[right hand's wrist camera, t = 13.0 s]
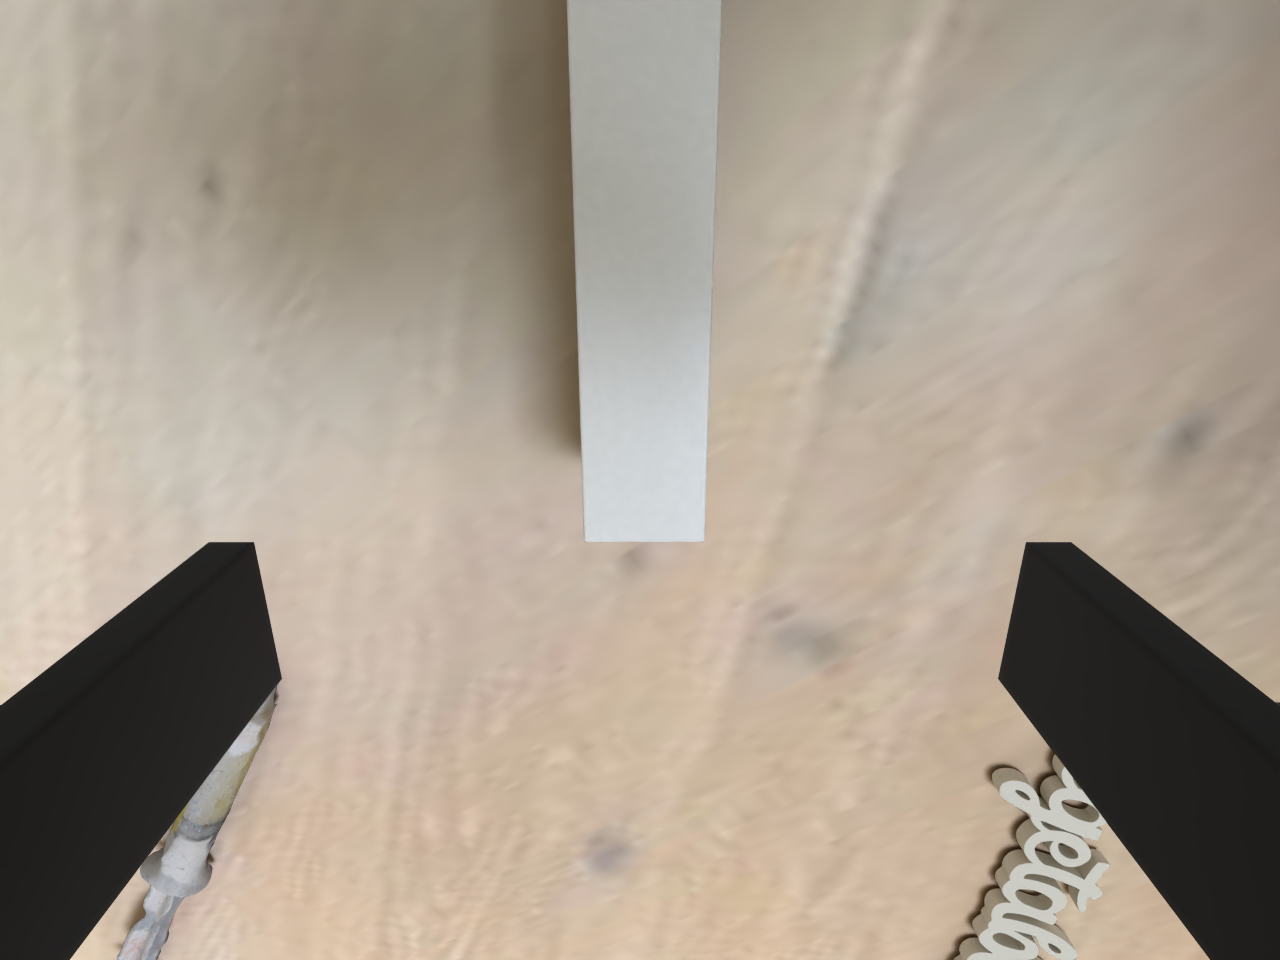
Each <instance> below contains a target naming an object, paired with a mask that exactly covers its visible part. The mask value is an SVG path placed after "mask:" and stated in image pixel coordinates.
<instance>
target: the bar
mask: <svg viewBox="0 0 1280 960" xmlns="http://www.w3.org/2000/svg"><path fill="white" fill-rule="evenodd" d="M721 6H722V0H567V24H568V55H569V86H570V118H571V149H572V180H573V212H574V243H575V274H576V306H577V337H578V368H579V399H580V431H581V462H582V493H583V525H584V541H585V542H703V541H704V540H705V511H706V480H707V448H708V417H709V385H710V354H711V322H712V290H713V259H714V227H715V196H716V164H717V132H718V101H719V69H720V38H721Z"/></svg>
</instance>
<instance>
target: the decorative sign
mask: <svg viewBox="0 0 1280 960" xmlns="http://www.w3.org/2000/svg"><path fill="white" fill-rule="evenodd" d="M1052 764H1053V768H1054V770H1055V772H1056V773H1057V775H1055V776H1051V777H1048V778H1046V779H1045V780H1044V781H1043V782H1042V784H1041V787H1040V793H1041V796H1042V797H1043V798H1041V797H1038V795H1037V793H1036V792H1035V790H1034V789H1033V787H1032V786H1031V784H1030V783H1029V781H1028V780H1027V778H1026V777H1025V776H1024V775H1023V774H1022V773H1021V772H1019V771H1017V770H1015V769H1012V768H1001V769H998V770H995V771H994V772H993V774H992V781H993V783H994V785H995V786H996V788H997V790H998V791H999V793H1000V794H1001V796H1002V797H1003V798H1004V799H1005V800H1006V801H1007V802H1009V803H1011V804H1012V805H1014V806H1016V807H1018V808H1019V809H1021V810H1023V811H1025V812H1026V813H1027V815H1028V816H1029V818H1030V819H1028V820H1026V821H1025V822H1023V823H1022V824H1021V825H1020V826H1019V828H1018V829H1017V832H1016V839H1017V841H1018V843H1019V845H1020V846H1021V848H1022V849H1019V850H1014V851H1011V852H1009V853H1008V854H1007V855H1006V856H1005V857H1004V858H1003V861H1002V866H1001V867H1000V868H999V869H998V870H997V871H996V873H995V879H996V881H997V883H998V885H999V887H1000V888H997V889H992V890H990V891H988V892H987V894H986V896H985V899H984V905H985V906H984V907H983V908H982V909H981V914H980V915H978V916H977V917H976V918H975V919H974V920H973V922H972V925H973V928H974V930H975V932H976V934H977V936H978V938H968V939H966V940H964V941H963V942H962V943H961V945H960V947H959V952H960V955H958V956H957V957H956V958H954V960H1041V959H1040V958H1038V957H1037V956H1038V953H1039V950H1038V947H1037V945H1036V943H1035V941H1034V940H1033V938H1032V936H1031V935H1033V936H1035V937H1036V939H1037V941H1038V942H1039V944H1040V945H1041V947H1042V948H1043V949H1044V950H1045V951H1047V952H1048V953H1049V954H1051V955H1052V956H1054V957H1056V958H1058V959H1060V960H1074V959H1075V958H1076V957H1077V952H1076V950H1075V949H1074V947H1073V945H1072V943H1071V942H1070V940H1069V938H1068V937H1067V935H1066V934H1065V933H1064V932H1063V931H1062V930H1061V929H1059V928H1058V927H1057V926H1055V925H1054V923H1055V922H1056V921H1057V917H1056V916H1055V914H1054V913H1057V912H1059V911H1060V910H1062V909H1063V908H1064V907H1065V906H1066V903H1067V899H1066V896H1065V895H1064V893H1063V891H1062V890H1061V888H1060V887H1059V885H1058V883H1057V882H1056V880H1058V881H1061V882H1063V883H1066V884H1069V885H1068V888H1069V894H1070V897H1071V898H1072V900H1073V901H1074V903H1075V905H1076V906H1077V908H1078V909H1079V911H1081V912H1082V911H1085V910H1086V901H1087V898H1088V896H1089V897H1090V898H1091V899H1092V900H1095V899H1097V898H1099V897H1100V896H1101V895H1102V892H1101V890H1100V889H1099V887H1098V886H1097V884H1096V882H1097V881H1098V879H1099V878H1100V877H1101V876H1102V874H1103V873H1104V872H1105V871H1106V870H1107V869H1108V868H1109V867H1110V864H1109V863H1108V861H1107V860H1106V859H1105V857H1104V856H1103V854H1102V853H1101V852H1100V851H1098V850H1096V849H1090V848H1089V847H1088V845H1087V844H1086V842H1085V841H1084V840H1083V838H1082V837H1081V836H1083V837H1086V838H1089V839H1093V840H1096V841H1097V840H1098V838H1099V836H1100V835H1101V833H1102V832H1103V831H1102V829H1101V828H1100V827H1099V826H1102V825H1104V824H1106V823H1107V822H1106V821H1105V820H1104V818H1103V817H1102V816H1101V814H1100V813H1099V812H1098V810H1097V809H1096V808H1095V806H1094V805H1093V804H1092V802H1091V801H1090V800H1089V798H1088V797H1087V796H1086V794H1085V793H1084V792H1083V790H1082V789H1081V788H1080V786H1079V785H1078V784H1077V782H1076V781H1075V780H1074V778H1073V777H1072V776H1071V774H1070V773H1069V772H1068V771H1067V769H1066V768H1065V767H1064V765H1063V764H1062V763H1061V761H1060V760H1059V759H1058V757H1057V756H1056V755H1054V757H1053V761H1052ZM1067 799H1071V800H1078V801H1081V802H1084V803H1087V804H1089V805H1088V806H1087V807H1086V808H1084V809H1077V808H1073V807H1070V806H1068V805H1066V804H1064V803H1062V801H1063V800H1067ZM1041 842H1044V844H1045V845H1046V847H1047V848H1048V850H1049V852H1050V853H1051V855H1049V854H1046V853H1042V852H1038V851H1036V850H1035V847H1036V845H1037V844H1039V843H1041ZM1059 843H1063V844H1065V845H1060V844H1059ZM1055 879H1056V880H1055ZM1019 889H1029V890H1034V891H1037V892H1040V893H1042V894H1040V895H1038V896H1032V895H1028V894H1026V893H1023V892H1021V891H1018V890H1019Z"/></svg>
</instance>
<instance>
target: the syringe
mask: <svg viewBox="0 0 1280 960" xmlns="http://www.w3.org/2000/svg"><path fill="white" fill-rule="evenodd" d="M276 689H277V686H276V687H275V688H274V690H273V691H272V692H271V694H270V695H269V696H268V698H267V699H266V700H265V702H264V703H263V704H262V706H261V707H260V708H259V710H258V711H257V712H256V714H255V715H254V716H253V718H252V719H251V720H250V721H249V723H248V724H247V725H246V727H245V728H244V729H243V731H242V732H241V733H240V735H239V736H238V737H237V739H236V740H235V741H234V743H233V744H232V745H231V747H230V748H229V749H228V751H227V752H226V753H225V755H224V756H223V757H222V759H221V760H220V761H219V763H218V764H217V765H216V767H215V768H214V769H213V771H212V772H211V773H210V774H209V776H208V777H207V778H206V780H205V781H204V782H203V784H202V785H201V786H200V788H199V789H198V790H197V792H196V793H195V794H194V796H193V797H192V798H191V800H190V801H189V802H188V804H187V805H186V806H185V808H184V809H183V810H182V812H181V813H180V814H179V816H178V817H177V818H176V820H175V821H174V824H173V828H172V830H171V831H170V833H169V834H168V836H167V840H166V844H165V847H164V848H162V849H161V850H159V851H156V852H154V853H152V854H151V855H150V856H148V857H147V858H146V859H145V861H144V862H143V864H142V866H141V868H140V873H141V876H142V878H143V879H144V880H146V881H147V882H148V883H149V884H150V885H151V887H150V889H149V891H148V893H147V895H146V897H145V899H144V902H143V908H144V909H145V911H146V915H145V917H143V918H142V919H141V920H140V921H138V922H136V923H135V924H134V925H133V927H132V928H131V930H130V931H129V933H128V935H127V937H126V940H125V942H124V943H123V945H122V948H121V951H120V953H119V954H118V956H117V960H157V958H158V956H159V954H160V952H161V947H162V945H163V944H164V943H165V942H166V941H167V939H168V935H169V931H168V929H169V926H170V924H171V921H172V918H173V915H174V914H175V912H176V910H177V908H178V906H179V904H180V903H181V901H182V900H183V899H184V897H188V896H191V895H194V894H196V893H198V892H200V891H201V890H203V889H204V888H205V887H206V886H207V884H208V883H209V881H210V878H211V874H212V866H211V865H210V864H209V863H208V861H207V858H208V853H209V851H210V849H211V847H212V846H213V844H214V842H215V839H216V836H217V834H218V832H219V830H220V828H221V826H222V825H223V823H224V821H225V819H226V817H227V815H228V814H229V812H230V809H231V806H232V804H233V801H234V799H235V797H236V795H237V793H238V790H239V788H240V786H241V784H242V782H243V779H244V777H245V775H246V773H247V771H248V769H249V767H250V764H251V763H252V761H253V758H254V756H255V753H256V752H257V750H258V748H259V746H260V744H261V742H262V741H263V739H264V736H265V733H266V732H267V730H268V727H269V725H270V721H271V717H272V714H273V711H274V708H275V707H276V705H277V704H276V705H275V704H274V695H275V692H276Z"/></svg>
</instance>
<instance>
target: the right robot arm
mask: <svg viewBox="0 0 1280 960" xmlns="http://www.w3.org/2000/svg"><path fill="white" fill-rule="evenodd" d="M281 679H282V677H281V672H280V668H279V663H278V658H277V653H276V648H275V643H274V638H273V633H272V628H271V623H270V618H269V614H268V609H267V604H266V599H265V594H264V589H263V584H262V579H261V574H260V569H259V565H258V560H257V555H256V550H255V545H254V542H209V543H207V544H206V545H205V546H204V547H202V548H201V549H200V550H198V551H197V552H196V553H195V554H193V555H192V556H191V557H190V558H188V559H187V560H186V561H184V562H183V563H182V564H181V565H179V566H178V567H177V568H176V569H174V570H173V571H172V572H170V573H169V574H168V575H167V576H165V577H164V578H163V579H162V580H160V581H159V582H158V583H156V584H155V585H154V586H153V587H151V588H150V589H149V590H148V591H146V592H145V593H144V594H142V595H141V596H140V597H139V598H137V599H136V600H135V601H133V602H132V603H131V604H130V605H128V606H127V607H126V608H125V609H123V610H122V611H121V612H119V613H118V614H117V615H116V616H114V617H113V618H112V619H111V620H109V621H108V622H107V623H105V624H104V625H103V626H102V627H100V628H99V629H98V630H97V631H95V632H94V633H93V634H91V635H90V636H89V637H88V638H86V639H85V640H84V641H82V642H81V643H80V644H79V645H77V646H76V647H75V648H74V649H72V650H71V651H70V652H68V653H67V654H66V655H65V656H63V657H62V658H61V659H60V660H58V661H57V662H56V663H54V664H53V665H52V666H51V667H49V668H48V669H47V670H46V671H44V672H43V673H42V674H40V675H39V676H38V677H37V678H35V679H34V680H33V681H31V682H30V683H29V684H28V685H26V686H25V687H24V688H23V689H21V690H20V691H19V692H17V693H16V694H15V695H14V696H12V697H11V698H10V699H9V700H7V701H6V702H5V703H3V704H2V705H0V960H70V959H71V957H72V956H73V955H74V953H75V952H76V951H77V949H78V948H79V947H80V945H81V944H82V943H83V941H84V940H85V939H86V937H87V936H88V935H89V933H90V932H91V931H92V929H93V928H94V927H95V926H96V924H97V923H98V922H99V920H100V919H101V918H102V916H103V915H104V914H105V912H106V911H107V910H108V908H109V907H110V906H111V904H112V903H113V902H114V900H115V899H116V898H117V896H118V895H119V894H120V892H121V891H122V890H123V888H124V887H125V886H126V884H127V883H128V882H129V880H130V879H131V878H132V876H133V875H134V874H135V873H136V871H137V870H138V869H139V867H140V866H141V865H142V863H143V862H144V861H145V859H146V858H147V857H148V855H149V854H150V853H151V851H152V850H153V849H154V847H155V846H156V845H157V843H158V842H159V841H160V839H161V838H162V837H163V835H164V834H165V833H166V831H167V830H168V829H169V827H170V826H171V825H172V823H173V822H174V821H175V820H176V818H177V817H178V816H179V814H180V813H181V812H182V810H183V809H184V808H185V806H186V805H187V804H188V802H189V801H190V800H191V798H192V797H193V796H194V794H195V793H196V792H197V790H198V789H199V788H200V786H201V785H202V784H203V782H204V781H205V780H206V778H207V777H208V776H209V774H210V773H211V772H212V771H213V769H214V768H215V767H216V765H217V764H218V763H219V761H220V760H221V759H222V757H223V756H224V755H225V753H226V752H227V751H228V749H229V748H230V747H231V745H232V744H233V743H234V741H235V740H236V739H237V737H238V736H239V735H240V733H241V732H242V731H243V729H244V728H245V727H246V725H247V724H248V723H249V721H250V720H251V719H252V718H253V716H254V715H255V714H256V712H257V711H258V710H259V708H260V707H261V706H262V704H263V703H264V702H265V700H266V699H267V698H268V696H269V695H270V694H271V692H272V691H273V690H274V688H275V687H276V686H277V684H278V683H279V682H280V680H281ZM998 679H999V680H1000V682H1001V683H1002V684H1003V686H1004V687H1005V688H1006V690H1007V691H1008V692H1009V694H1010V695H1011V696H1012V698H1013V699H1014V700H1015V702H1016V703H1017V704H1018V706H1019V707H1020V708H1021V710H1022V711H1023V712H1024V714H1025V715H1026V716H1027V718H1028V719H1029V720H1030V721H1031V723H1032V724H1033V725H1034V727H1035V728H1036V729H1037V731H1038V732H1039V733H1040V735H1041V736H1042V737H1043V739H1044V740H1045V741H1046V743H1047V744H1048V745H1049V747H1050V748H1051V749H1052V751H1053V752H1054V753H1055V755H1056V756H1057V757H1058V759H1059V760H1060V761H1061V763H1062V764H1063V765H1064V767H1065V768H1066V769H1067V771H1068V772H1069V773H1070V774H1071V776H1072V777H1073V778H1074V780H1075V781H1076V782H1077V784H1078V785H1079V786H1080V788H1081V789H1082V790H1083V792H1084V793H1085V794H1086V796H1087V797H1088V798H1089V800H1090V801H1091V802H1092V804H1093V805H1094V806H1095V808H1096V809H1097V810H1098V812H1099V813H1100V814H1101V816H1102V817H1103V818H1104V820H1105V821H1106V822H1107V824H1108V825H1109V826H1110V827H1111V829H1112V830H1113V831H1114V833H1115V834H1116V835H1117V837H1118V838H1119V839H1120V841H1121V842H1122V843H1123V845H1124V846H1125V847H1126V849H1127V850H1128V851H1129V853H1130V854H1131V855H1132V857H1133V858H1134V859H1135V861H1136V862H1137V863H1138V865H1139V866H1140V867H1141V869H1142V870H1143V871H1144V873H1145V874H1146V875H1147V876H1148V878H1149V879H1150V880H1151V882H1152V883H1153V884H1154V886H1155V887H1156V888H1157V890H1158V891H1159V892H1160V894H1161V895H1162V896H1163V898H1164V899H1165V900H1166V902H1167V903H1168V904H1169V906H1170V907H1171V908H1172V910H1173V911H1174V912H1175V914H1176V915H1177V916H1178V918H1179V919H1180V920H1181V922H1182V923H1183V924H1184V926H1185V927H1186V928H1187V929H1188V931H1189V932H1190V933H1191V935H1192V936H1193V937H1194V939H1195V940H1196V941H1197V943H1198V944H1199V945H1200V947H1201V948H1202V949H1203V951H1204V952H1205V953H1206V955H1207V956H1208V957H1209V959H1210V960H1280V703H1275V702H1274V701H1273V700H1271V699H1270V698H1269V697H1268V696H1266V695H1265V694H1264V693H1263V692H1261V691H1260V690H1259V689H1257V688H1256V687H1255V686H1254V685H1252V684H1251V683H1250V682H1249V681H1247V680H1246V679H1245V678H1243V677H1242V676H1241V675H1240V674H1238V673H1237V672H1236V671H1234V670H1233V669H1232V668H1231V667H1229V666H1228V665H1227V664H1226V663H1224V662H1223V661H1222V660H1220V659H1219V658H1218V657H1217V656H1215V655H1214V654H1213V653H1212V652H1210V651H1209V650H1208V649H1206V648H1205V647H1204V646H1203V645H1201V644H1200V643H1199V642H1198V641H1196V640H1195V639H1194V638H1192V637H1191V636H1190V635H1189V634H1187V633H1186V632H1185V631H1183V630H1182V629H1181V628H1180V627H1178V626H1177V625H1176V624H1175V623H1173V622H1172V621H1171V620H1169V619H1168V618H1167V617H1166V616H1164V615H1163V614H1162V613H1161V612H1159V611H1158V610H1157V609H1155V608H1154V607H1153V606H1152V605H1150V604H1149V603H1148V602H1147V601H1145V600H1144V599H1143V598H1141V597H1140V596H1139V595H1138V594H1136V593H1135V592H1134V591H1132V590H1131V589H1130V588H1129V587H1127V586H1126V585H1125V584H1124V583H1122V582H1121V581H1120V580H1118V579H1117V578H1116V577H1115V576H1113V575H1112V574H1111V573H1110V572H1108V571H1107V570H1106V569H1104V568H1103V567H1102V566H1101V565H1099V564H1098V563H1097V562H1096V561H1094V560H1093V559H1092V558H1090V557H1089V556H1088V555H1087V554H1085V553H1084V552H1083V551H1082V550H1080V549H1079V548H1078V547H1076V546H1075V545H1074V544H1073V543H1071V542H1026V545H1025V550H1024V555H1023V560H1022V565H1021V569H1020V574H1019V579H1018V584H1017V589H1016V594H1015V599H1014V604H1013V609H1012V614H1011V618H1010V623H1009V628H1008V633H1007V638H1006V643H1005V648H1004V653H1003V658H1002V663H1001V667H1000V672H999V677H998Z"/></svg>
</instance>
